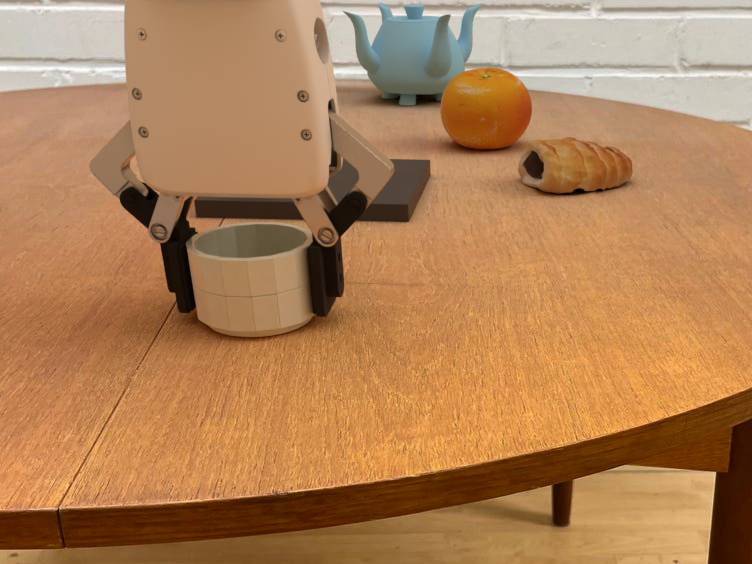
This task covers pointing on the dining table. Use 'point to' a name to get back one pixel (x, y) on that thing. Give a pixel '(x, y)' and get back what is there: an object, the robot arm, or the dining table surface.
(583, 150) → the pastry
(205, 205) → the scale
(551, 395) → the dining table surface
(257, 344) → the dining table surface
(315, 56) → the robot arm
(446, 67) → the teapot
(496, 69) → the fruit
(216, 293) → the bowl
